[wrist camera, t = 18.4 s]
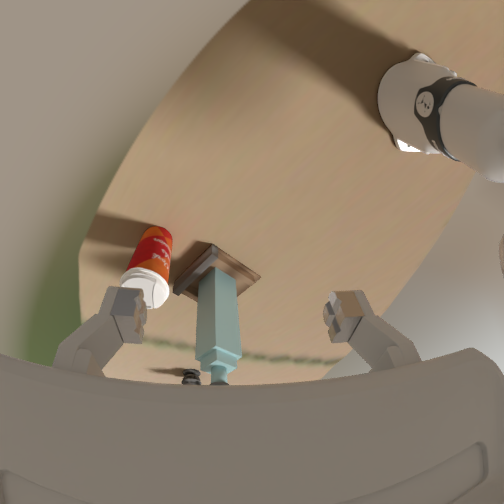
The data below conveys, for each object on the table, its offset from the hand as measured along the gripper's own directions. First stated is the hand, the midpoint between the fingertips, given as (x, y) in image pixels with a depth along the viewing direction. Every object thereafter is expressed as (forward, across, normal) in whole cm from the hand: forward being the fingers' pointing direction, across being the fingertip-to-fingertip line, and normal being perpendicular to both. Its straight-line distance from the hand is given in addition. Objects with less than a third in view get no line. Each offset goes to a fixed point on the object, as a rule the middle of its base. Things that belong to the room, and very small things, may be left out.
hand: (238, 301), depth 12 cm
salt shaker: (+34, -7, -69) cm, 77 cm away
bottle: (+34, 0, -30) cm, 45 cm away
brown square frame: (+34, 0, -30) cm, 45 cm away
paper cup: (+34, -11, -21) cm, 42 cm away
